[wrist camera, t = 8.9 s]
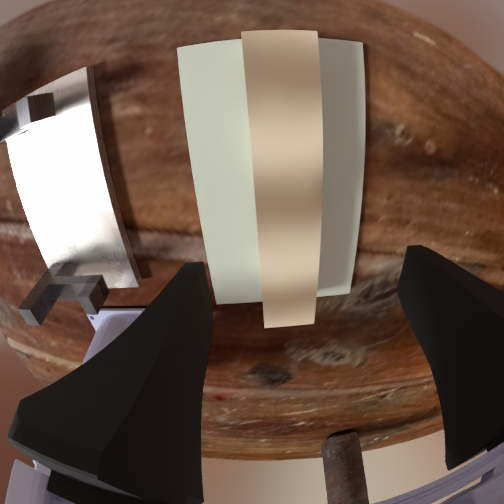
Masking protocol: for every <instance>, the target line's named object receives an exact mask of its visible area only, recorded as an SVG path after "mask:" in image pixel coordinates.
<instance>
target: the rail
mask: <svg viewBox="0 0 504 504" xmlns="http://www.w3.org/2000/svg"><path fill="white" fill-rule="evenodd" d="M241 37H242V49H243V60H244V71H245V83H246V94H247V106H248V118H249V130H250V142H251V155H252V167H253V180H254V192H255V205H256V218H257V231H258V245H259V258H260V272H261V285H262V299H263V314H264V328H272V327H285V326H296V325H306V324H314V319H315V309H316V298H317V287H318V274H319V260H320V244H321V224H322V196H323V118H322V91H321V73H320V58H319V45H318V34H317V31H305V30H262V31H245V32H241Z"/></svg>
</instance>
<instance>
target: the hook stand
mask: <svg viewBox="0 0 504 504" xmlns="http://www.w3.org/2000/svg"><path fill="white" fill-rule="evenodd" d="M5 142H7V146H8V151H9V155H10V160H11V164H12V168H13V172H14V176H15V179H16V183H17V186H18V190H19V193H20V196H21V200H22V203H23V206H24V209H25V212H26V215H27V217H28V220H29V223H30V226H31V228H32V231H33V234H34V236H35V239H36V241H37V244H38V246H39V248H40V251H41V253H42V255H43V258H44V260H45V262H46V264H47V266H48V270H47V271H46V272H45V274H44V275H43V276H42V277H41V279H40V280H39V281H38V283H37V284H36V285H35V286H34V288H33V289H32V290H31V292H30V293H29V294H28V296H27V297H26V298H25V300H24V301H23V303H22V304H21V305H20V307H19V308H18V310H19V312H20V313H21V315H22V317H23V318H24V320H25V321H26V323H27V324H28V325H34V326H41V324H42V322H43V321H44V319H45V317H46V316H47V314H48V313H49V311H50V310H51V308H52V306H53V305H54V303H55V302H56V300H71V301H80V303H81V305H82V307H83V309H84V311H85V312H86V314H87V315H98V313H99V311H100V309H101V307H102V305H103V304H104V302H105V300H106V298H107V296H108V294H109V292H110V291H109V289H108V288H126V287H139V285H140V283H141V281H142V277H141V275H140V272H139V269H138V266H137V263H136V260H135V257H134V254H133V251H132V248H131V245H130V242H129V239H128V235H127V232H126V229H125V225H124V222H123V218H122V215H121V211H120V208H119V204H118V200H117V196H116V193H115V189H114V185H113V180H112V176H111V172H110V168H109V163H108V158H107V154H106V149H105V144H104V138H103V133H102V127H101V122H100V115H99V109H98V102H97V95H96V87H95V78H94V68H93V67H84V68H81V69H79V70H77V71H74V72H72V73H70V74H68V75H65V76H63V77H61V78H59V79H57V80H55V81H53V82H51V83H49V84H47V85H45V86H43V87H41V88H39V89H37V90H35V91H34V92H32V93H30V94H28V95H27V96H25V97H23V98H21V99H20V100H18V101H16V102H15V103H13V104H12V105H10V106H8V107H7V108H5V109H4V110H2V118H0V144H3V143H5Z"/></svg>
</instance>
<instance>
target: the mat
mask: <svg viewBox="0 0 504 504" xmlns="http://www.w3.org/2000/svg"><path fill="white" fill-rule="evenodd" d="M318 45H319V58H320V73H321V91H322V118H323V196H322V224H321V244H320V260H319V274H318V287H317V297H321V296H331V295H340V294H349V293H350V287H351V281H352V275H353V269H354V262H355V255H356V248H357V240H358V232H359V223H360V214H361V203H362V191H363V177H364V159H365V121H366V110H365V73H364V57H363V44H362V42H354V41H346V40H336V39H324V38H318ZM177 53H178V63H179V73H180V82H181V91H182V100H183V108H184V116H185V124H186V131H187V139H188V146H189V153H190V160H191V166H192V173H193V179H194V186H195V192H196V198H197V204H198V210H199V216H200V221H201V227H202V232H203V238H204V243H205V249H206V254H207V259H208V264H209V269H210V274H211V279H212V284H213V289H214V294H215V299H216V303H217V304H232V303H248V302H263V299H262V285H261V272H260V258H259V245H258V231H257V218H256V205H255V192H254V180H253V167H252V155H251V142H250V130H249V118H248V106H247V94H246V83H245V71H244V60H243V49H242V39H235V40H225V41H217V42H209V43H202V44H196V45H190V46H185V47H179V48H177Z"/></svg>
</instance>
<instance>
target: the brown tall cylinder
mask: <svg viewBox="0 0 504 504" xmlns="http://www.w3.org/2000/svg"><path fill="white" fill-rule="evenodd" d="M321 447H322V456H323V465H324V473H325V481H326V490H327V500H328V504H369V500H368V494H367V486H366V479H365V473H364V466H363V459H362V453H361V447H360V441H359V436H358V433H357V432H351V433H343V434H341V433H340V434H335V435H332V436H331V437H330V438H328V439H326V440H325V441H324V442H323V443H322V444H321Z"/></svg>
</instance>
